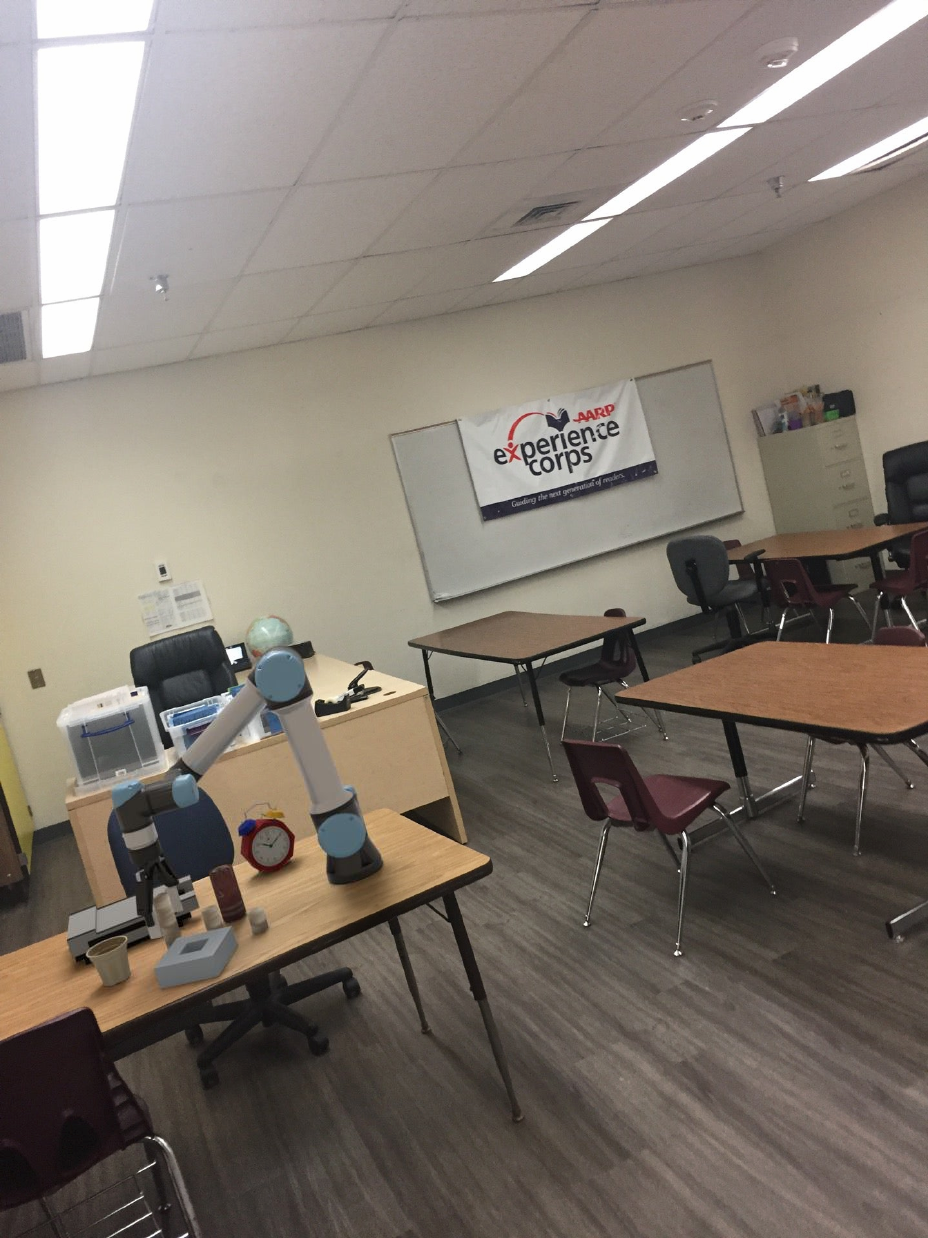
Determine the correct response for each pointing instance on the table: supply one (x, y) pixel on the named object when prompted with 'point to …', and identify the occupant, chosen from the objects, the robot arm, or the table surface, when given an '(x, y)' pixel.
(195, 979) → the hole block
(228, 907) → the can
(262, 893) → the table surface
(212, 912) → the dowel medium
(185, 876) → the game console
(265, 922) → the dowel short
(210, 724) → the robot arm
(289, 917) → the table surface
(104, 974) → the flower pot
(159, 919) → the dowel long
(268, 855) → the alarm clock
